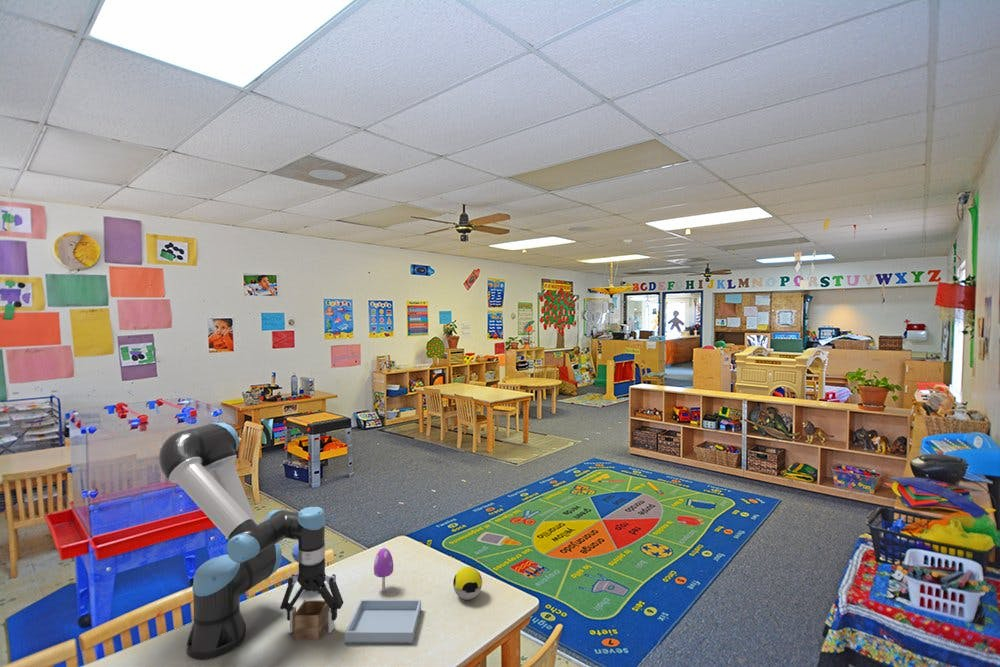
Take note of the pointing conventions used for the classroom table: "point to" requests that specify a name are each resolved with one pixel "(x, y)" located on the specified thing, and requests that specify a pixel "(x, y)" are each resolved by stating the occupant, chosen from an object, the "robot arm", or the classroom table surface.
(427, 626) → the classroom table surface
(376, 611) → the big tray
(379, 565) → the toy
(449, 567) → the classroom table surface
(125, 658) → the classroom table surface
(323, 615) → the small crate
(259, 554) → the robot arm
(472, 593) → the toy
